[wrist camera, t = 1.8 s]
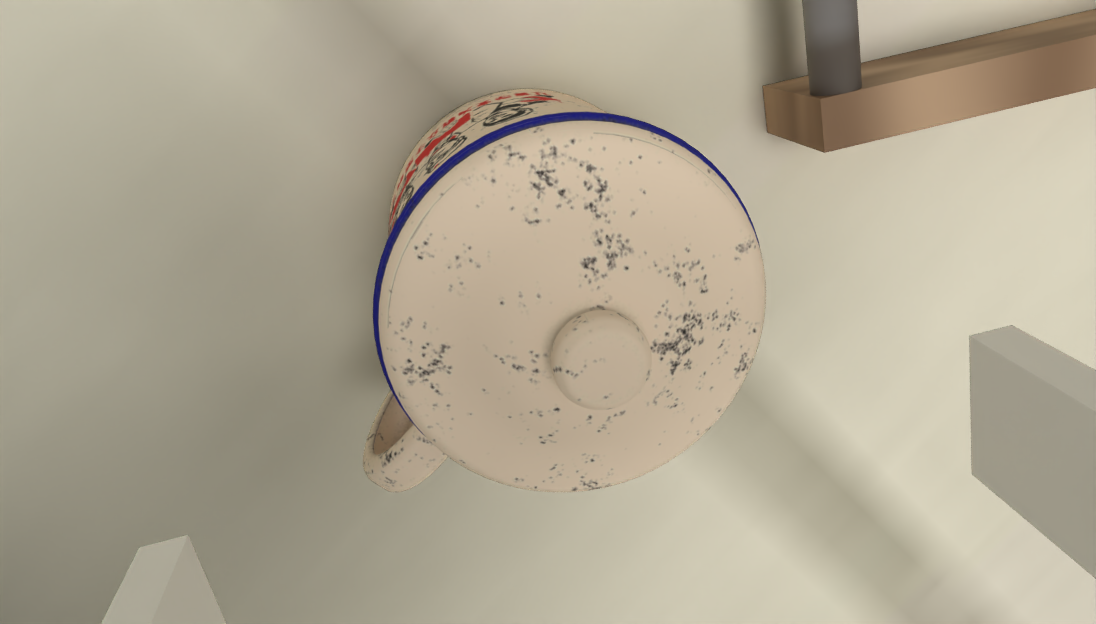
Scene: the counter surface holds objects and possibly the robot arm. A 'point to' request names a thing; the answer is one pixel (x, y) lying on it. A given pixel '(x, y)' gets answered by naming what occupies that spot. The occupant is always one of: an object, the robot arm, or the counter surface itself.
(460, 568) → the counter surface
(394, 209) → the teacup with lid
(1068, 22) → the wooden tray
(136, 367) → the counter surface
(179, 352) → the counter surface
